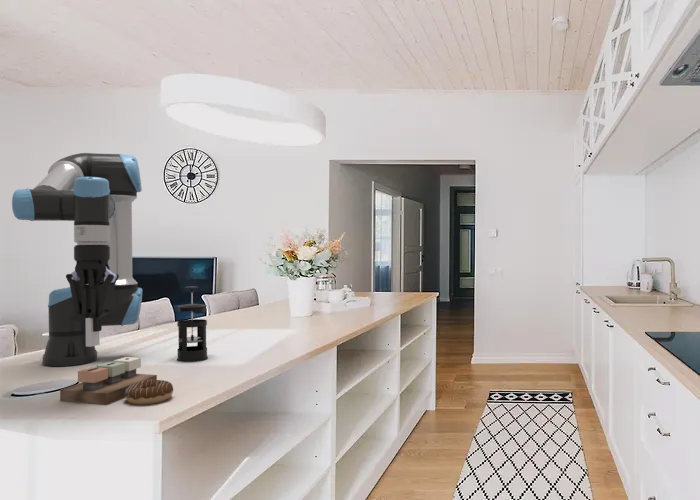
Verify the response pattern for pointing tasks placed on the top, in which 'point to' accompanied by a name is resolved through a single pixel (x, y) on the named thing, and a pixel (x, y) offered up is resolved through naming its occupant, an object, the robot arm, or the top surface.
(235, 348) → the top surface
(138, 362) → the cream key
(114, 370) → the sage key
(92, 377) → the terracotta key
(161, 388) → the donut
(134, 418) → the top surface
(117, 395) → the keypad
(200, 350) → the french press
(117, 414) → the top surface
